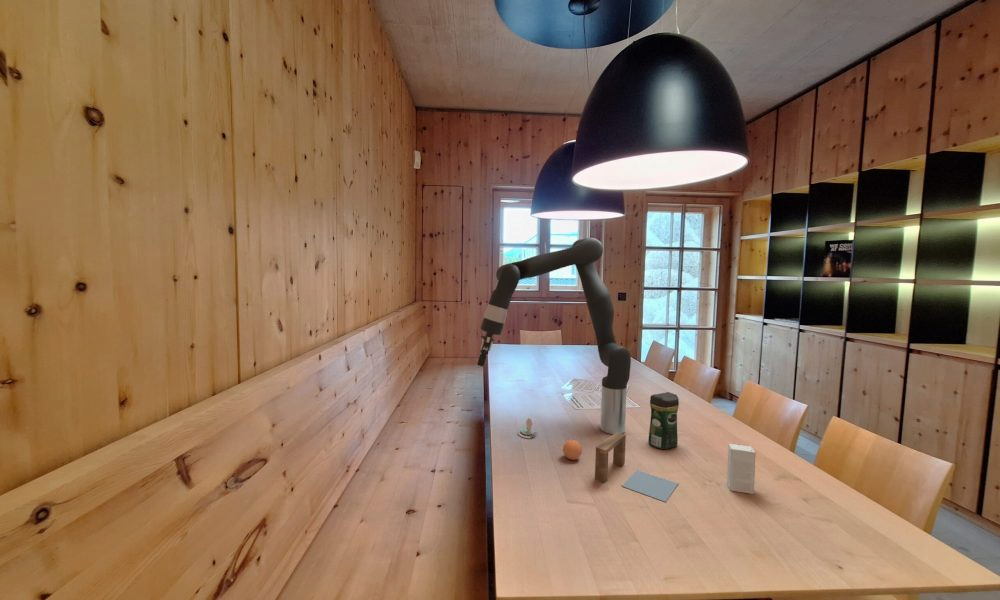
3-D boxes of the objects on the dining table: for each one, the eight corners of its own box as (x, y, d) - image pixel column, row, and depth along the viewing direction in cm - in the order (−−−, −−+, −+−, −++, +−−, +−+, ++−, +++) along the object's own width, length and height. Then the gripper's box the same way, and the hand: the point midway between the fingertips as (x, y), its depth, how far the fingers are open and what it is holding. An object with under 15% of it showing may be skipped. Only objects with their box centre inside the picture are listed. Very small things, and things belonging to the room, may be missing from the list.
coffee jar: (662, 438, 147) (665, 388, 146) (681, 446, 140) (683, 394, 139) (643, 442, 143) (646, 392, 142) (662, 451, 136) (664, 398, 135)
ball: (568, 452, 134) (569, 435, 133) (584, 458, 130) (585, 440, 129) (559, 459, 129) (559, 441, 128) (576, 464, 125) (576, 446, 125)
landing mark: (636, 470, 122) (637, 470, 122) (678, 484, 115) (678, 483, 115) (621, 486, 113) (621, 485, 113) (665, 502, 105) (665, 501, 105)
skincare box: (749, 487, 114) (752, 446, 113) (753, 494, 110) (756, 452, 109) (725, 483, 116) (728, 443, 115) (729, 490, 112) (731, 449, 111)
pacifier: (527, 441, 143) (539, 437, 147) (527, 424, 142) (539, 420, 146) (514, 434, 149) (526, 430, 152) (514, 418, 148) (526, 414, 152)
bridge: (594, 479, 116) (595, 447, 116) (615, 461, 128) (616, 432, 127) (604, 483, 114) (605, 450, 114) (624, 464, 126) (625, 434, 125)
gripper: (505, 323, 132) (490, 370, 132) (504, 321, 146) (491, 363, 146) (483, 317, 132) (469, 363, 132) (484, 315, 146) (471, 357, 146)
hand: (480, 363), depth 139 cm, fingers open, 8 cm apart
